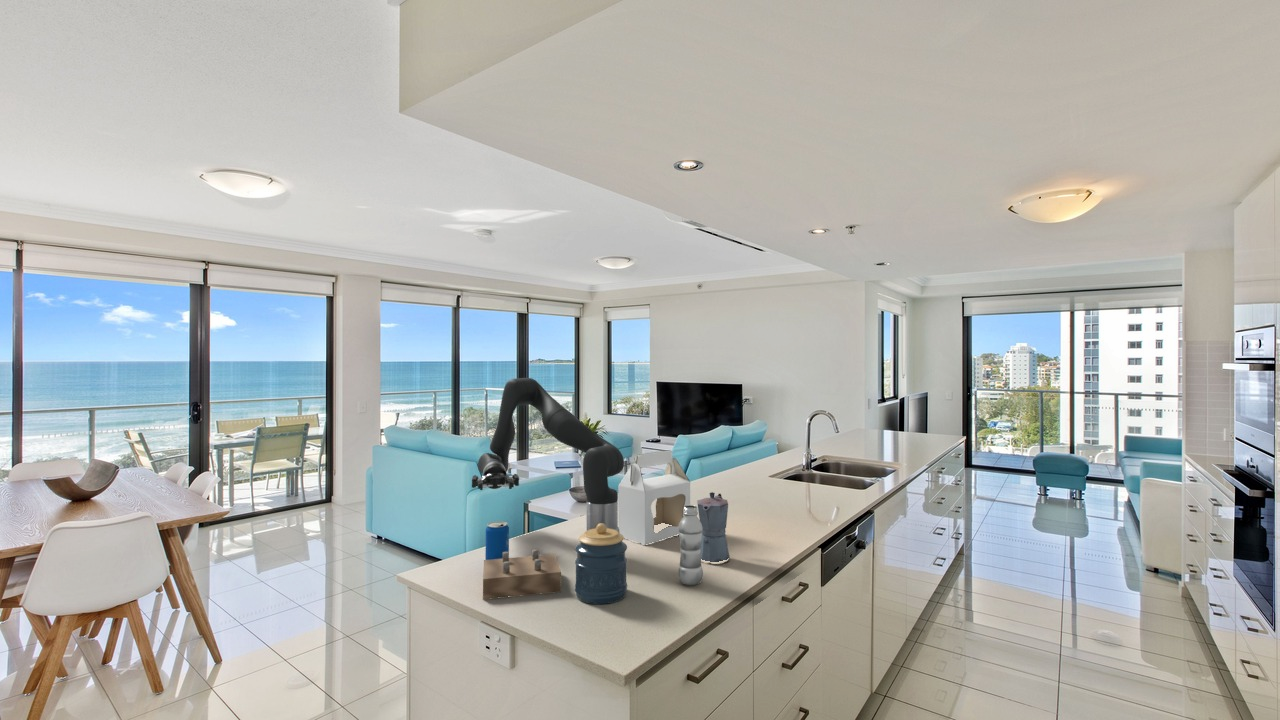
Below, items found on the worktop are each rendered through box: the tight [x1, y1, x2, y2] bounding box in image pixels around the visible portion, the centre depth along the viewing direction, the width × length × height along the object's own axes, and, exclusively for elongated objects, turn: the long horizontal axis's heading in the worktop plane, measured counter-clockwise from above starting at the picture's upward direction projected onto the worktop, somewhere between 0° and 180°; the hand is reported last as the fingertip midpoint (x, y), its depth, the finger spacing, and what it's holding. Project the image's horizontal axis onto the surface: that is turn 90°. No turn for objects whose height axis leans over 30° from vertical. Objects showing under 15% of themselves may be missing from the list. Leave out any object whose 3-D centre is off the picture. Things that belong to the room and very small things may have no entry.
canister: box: [574, 523, 628, 605], centre depth 140 cm, size 13×13×18 cm
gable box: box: [617, 449, 691, 546], centre depth 190 cm, size 22×13×28 cm, turn 133°
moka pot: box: [696, 491, 730, 562], centre depth 166 cm, size 10×15×20 cm, turn 158°
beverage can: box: [484, 520, 510, 560], centre depth 160 cm, size 6×6×12 cm
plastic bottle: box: [677, 504, 704, 586], centre depth 147 cm, size 6×7×20 cm
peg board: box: [482, 549, 562, 600], centre depth 146 cm, size 19×14×8 cm
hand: (496, 486), depth 169 cm, fingers open, 8 cm apart
